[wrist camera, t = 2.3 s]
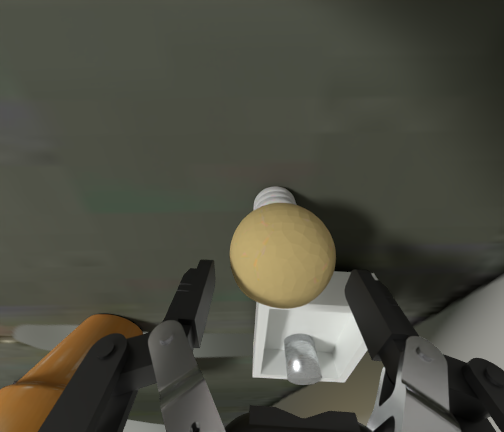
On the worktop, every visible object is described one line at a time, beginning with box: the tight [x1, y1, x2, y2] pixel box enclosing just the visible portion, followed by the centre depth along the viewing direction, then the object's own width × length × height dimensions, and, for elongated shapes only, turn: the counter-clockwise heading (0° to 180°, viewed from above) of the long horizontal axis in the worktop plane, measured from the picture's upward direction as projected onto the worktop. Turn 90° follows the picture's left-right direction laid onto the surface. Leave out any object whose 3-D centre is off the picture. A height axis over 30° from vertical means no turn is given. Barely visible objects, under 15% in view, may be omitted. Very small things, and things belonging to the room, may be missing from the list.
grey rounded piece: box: [284, 334, 322, 385], centre depth 25 cm, size 4×4×4 cm
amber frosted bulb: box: [230, 186, 336, 309], centre depth 14 cm, size 6×6×10 cm
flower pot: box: [0, 314, 143, 432], centre depth 26 cm, size 14×14×13 cm
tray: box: [253, 271, 378, 382], centre depth 24 cm, size 16×12×6 cm
